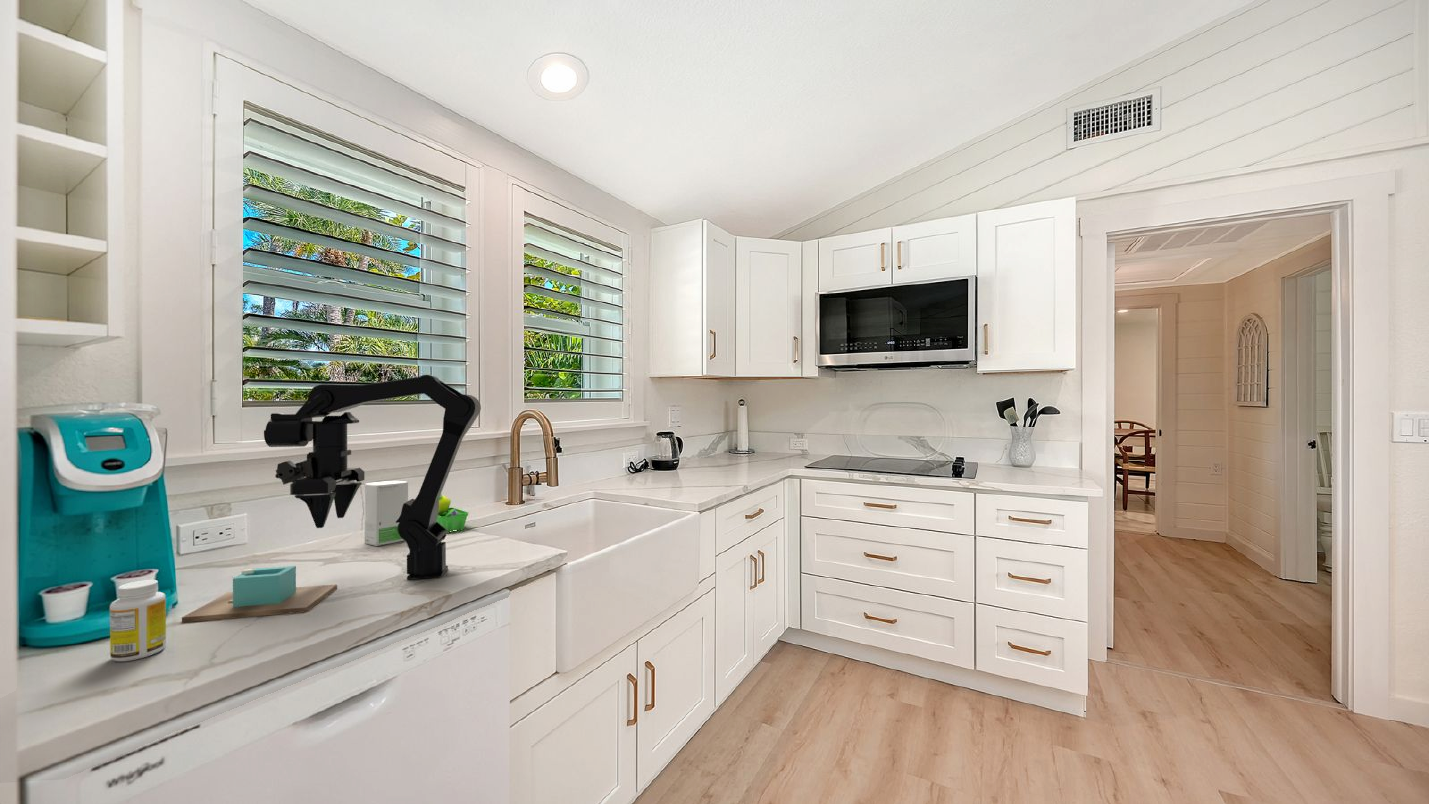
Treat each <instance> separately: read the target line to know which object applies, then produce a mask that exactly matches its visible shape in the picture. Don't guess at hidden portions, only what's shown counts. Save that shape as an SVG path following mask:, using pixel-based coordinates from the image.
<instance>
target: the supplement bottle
mask: <svg viewBox="0 0 1429 804" xmlns="http://www.w3.org/2000/svg"><path fill="white" fill-rule="evenodd" d="M158 583H159V581H158V580H156V579H143V580H138V581H137V580H136V581H132V582H127V583H125V584H124V583H123V584H122V585H120V586H118V587H117V599H115V600H114V601H112V602H111V603H110V604H109V635H110V636H109V638H110V639H109V644H110V645H109V648H110V650H109V651H110V652H109V653H110V658H111V660H112V661H114V662H129V661H134V660H140V659H143V658H144V659H145V658H147V657H150V656H152V655H155V654H157V653H159V652H161V651H162V650H163V649H164V648H165V647H166V646H167V607H166V606H167V605H166V604H167V602H166V601H167V600H166V599H167V597H166V594H165V593H164V592H161V591H159V584H158Z"/></svg>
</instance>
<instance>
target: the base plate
mask: <svg viewBox="0 0 1429 804" xmlns="http://www.w3.org/2000/svg"><path fill="white" fill-rule="evenodd" d="M337 589H338V584H327V585H326V584H324V585H323V584H322V585H310V586H296V593H294V594H293V595H291V596H290V597H288V598H287V599H286V600H284V601H283V602H281V603H278V604H266V605H253V606H241V607H233V591H230V592H229V591H228V592H226V593H224V594H223V595H221V596H219V597H217V598H216V599H213V600H211V601H210V602H207V603H206V604H204V605H202V606H201V607H198V608H197V609H195V610H193V611H191V612H189V613H187V614H186V615H184V616H182V617H181V623H188V622H187V621H191V622H202V621H201V620H203V621H211V620H224V619H226V620H228V619H235V618H248V617H259V616H271V615H274V616H275V615H282V614H294V613H295V614H296V612H298V613H306V612H308V611H310V610H311V609H312V608H313V607H315V606H316V605H317V604H318V603H320V602H321V601H323V600H324V599H325V598H327V597H328V596H329V595H330V594H332V593H333V592H334V591H335V590H337Z"/></svg>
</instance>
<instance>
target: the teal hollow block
mask: <svg viewBox="0 0 1429 804" xmlns="http://www.w3.org/2000/svg"><path fill="white" fill-rule="evenodd" d="M296 587H297V567H296V565H290V566H276V567H275V566H274V567H263V568H262V567H261V568H259V567H258V568H251V569H242V570H241V574H238V576H235V577H233V578H232V592H233V607H241V606H253V605H266V604H278V603H281V602H283V601H284V600H286V599H287V598H288V597H290V596H291V595H293V594H294V593H296Z"/></svg>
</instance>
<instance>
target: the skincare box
mask: <svg viewBox="0 0 1429 804" xmlns="http://www.w3.org/2000/svg"><path fill="white" fill-rule="evenodd" d="M407 501H409V481H402V480H386V481H379V482H378V481H376V482H367V483H364V544H366V545H371V546H374V547H379V546H384V545H388V544H394V543H399V542H403V541H405V540H404V539H402V538H401V537H400V535H399V533H398V530H397V528H398V524H399V522H398V523H396V521H397V520H398V519H399V517H400V515H401V511H402V507H403V504H404V503H406V502H407ZM405 542H406V541H405Z"/></svg>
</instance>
